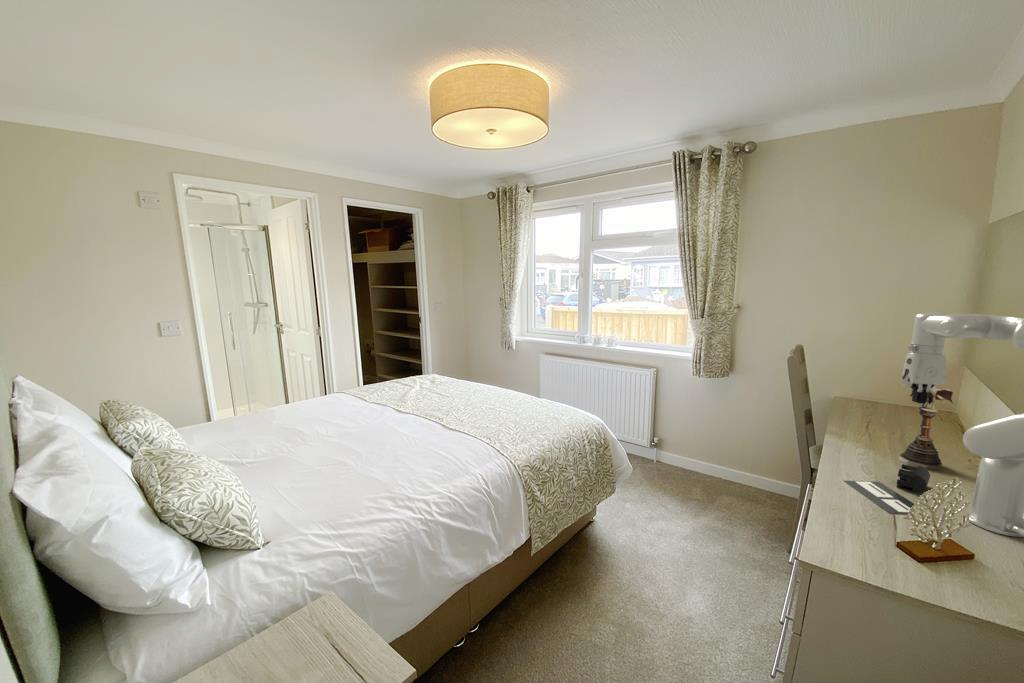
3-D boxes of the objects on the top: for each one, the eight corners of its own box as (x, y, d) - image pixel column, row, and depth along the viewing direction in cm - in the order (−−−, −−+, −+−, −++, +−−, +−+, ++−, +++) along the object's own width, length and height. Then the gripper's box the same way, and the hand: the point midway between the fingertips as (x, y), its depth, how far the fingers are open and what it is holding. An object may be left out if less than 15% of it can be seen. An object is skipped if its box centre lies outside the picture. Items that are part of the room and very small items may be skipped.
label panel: (932, 515, 121) (932, 515, 121) (889, 513, 122) (889, 513, 122) (879, 482, 140) (879, 481, 140) (843, 480, 142) (843, 480, 142)
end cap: (924, 496, 131) (928, 478, 130) (895, 488, 136) (898, 470, 135) (928, 486, 137) (931, 468, 136) (900, 478, 143) (903, 461, 141)
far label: (893, 497, 130) (893, 497, 130) (877, 497, 131) (877, 496, 131) (869, 482, 140) (870, 481, 140) (854, 481, 141) (854, 481, 141)
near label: (916, 513, 122) (916, 512, 122) (899, 512, 123) (899, 511, 123) (897, 500, 129) (897, 499, 129) (880, 499, 130) (880, 499, 130)
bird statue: (899, 449, 166) (911, 369, 160) (944, 460, 156) (959, 375, 150) (890, 460, 156) (903, 376, 150) (938, 473, 146) (954, 382, 140)
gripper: (912, 352, 127) (904, 405, 130) (962, 351, 126) (953, 406, 129) (892, 347, 135) (885, 398, 138) (939, 347, 133) (931, 399, 136)
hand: (918, 402), depth 133 cm, fingers closed
